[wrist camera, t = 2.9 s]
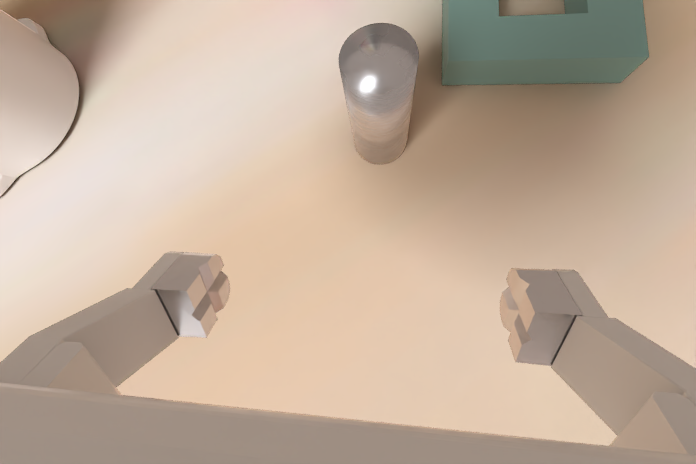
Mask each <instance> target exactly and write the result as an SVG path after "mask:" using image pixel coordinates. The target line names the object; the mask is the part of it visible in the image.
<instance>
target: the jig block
mask: <svg viewBox="0 0 696 464" xmlns="http://www.w3.org/2000/svg"><path fill="white" fill-rule="evenodd" d="M564 5H565V14H548V15H520V16H499V0H443V4H442V85H495V84H569V83H621V82H622V81H623V80H624V79H625V78H626V77H627V76H628V75H629V74H631V73H632V72H633V71H634V70H635V69H636V68H637V67H638V66H639V65H641V64H642V63H643V62H644V61H645V60H646V59H647V58H648V57H649V52H648V43H647V35H646V26H645V17H644V9H643V0H564Z"/></svg>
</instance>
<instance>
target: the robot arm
mask: <svg viewBox="0 0 696 464" xmlns="http://www.w3.org/2000/svg"><path fill="white" fill-rule="evenodd" d="M78 101H79V83H78V78H77V74H76V72H75V69H74V67H73V65H72V64H71V62H70V61H69V60H68V58H67V57H66V56H65V55H64V54H63V53H61V52H60V51H59V50H57V49H56V48H55V47H53V46H52V45H51V44H50V43H49V40H48V37H47V35H46V33H45V31H44V29H43V28H42V27H41V26H40V25H39V24H37V23H36V22H34V21H33V20H31V19H29V18H22V19H17V20H16V19H15V18H13V17H12V16H10V15H9V14H7V13H6V12H4V11H3V10H1V9H0V196H1V195H2V194H3V193H4V192H5V191H6V190H7V189H8V188H9V186H10V185H11V184H12V183H13V182H14V180H15V179H16V178H17V177H19V176H20V175H21V174H23V173H24V172H26V171H28V170H29V169H31V168H33V167H34V166H36V165H37V164H39V163H40V162H41V161H43V160H44V159H45V158H46V157H47V156H49V155H50V154H51V153H52V152H53V151H54V150H55V149H56V147H57V146H58V145H59V144H60V143H61V141H62V140H63V138H64V137H65V135H66V134H67V132H68V130H69V128H70V126H71V124H72V122H73V120H74V117H75V114H76V111H77V107H78ZM223 266H224V264H223V261H222V259H221V257H220V256H218V255H216V254H203V253H189V252H185V253H184V252H168V253H165V254H164V255H163V256H162V257H161V258H160V259H159V260H158V261H157V262H156V263H155V264H154V266H153V267H152V268H151V269H150V270H149V271H148V272H147V273H146V274H145V275H144V276H143V277H142V278H141V279H140V280H139V282H138V283H137V284H136V285H135V286H134V287H133V288H132V289H131V288H126V289H124V290H122V291H120V292H118V293H116V294H114V295H112V296H110V297H108V298H106V299H104V300H102V301H100V302H98V303H96V304H94V305H92V306H90V307H88V308H86V309H84V310H82V311H80V312H78V313H76V314H74V315H72V316H70V317H68V318H66V319H64V320H62V321H60V322H58V323H56V324H54V325H52V326H49V327H47V328H45V329H43V330H41V331H39V332H37V333H35V334H33V335H31V336H29V337H28V338H27V339H26V340H25V341H24V342H23V343H21V344H20V345H19V346H18V347H17V348H16V349H15V350H14V351H13V352H12V353H10V354H9V355H8V356H7V357H6V358H5V359H4V360H3V361H2V362H0V464H696V368H694V367H692V366H691V365H689V364H688V363H686V362H684V361H683V360H681V359H680V358H678V357H676V356H675V355H673V354H672V353H670V352H668V351H667V350H665V349H664V348H662V347H661V346H659V345H657V344H656V343H654V342H653V341H651V340H649V339H648V338H646V337H645V336H643V335H641V334H640V333H638V332H637V331H635V330H634V329H632V328H630V327H629V326H627V325H626V324H624V323H622V322H621V321H619V320H618V319H616V318H609V317H608V316H607V314H606V313H605V311H604V310H603V309H602V307H601V306H600V304H599V303H598V301H597V300H596V298H595V297H594V295H593V294H592V292H591V291H590V289H589V288H588V286H587V285H586V283H585V282H584V281H583V279H582V278H581V276H580V275H579V273H578V272H576V271H575V270H559V269H553V270H544V269H520V268H511V270H510V271H509V273H508V276H507V279H506V280H507V283H508V285H509V287H508V288H507V289H506V290H504V291H503V292H502V296H501V300H500V315H501V320H502V323H503V326H504V327H505V328H506V329H507V330H508V331H510V332H511V333H510V336H509V339H508V342H509V345H510V347H511V350H512V353H513V356H514V359H515V362H520V363H529V364H539V365H548V366H551V368H552V369H553V370H554V371H555V372H556V373H557V374H558V375H559V376H560V377H561V378H562V379H563V380H564V381H565V382H566V383H567V384H568V385H569V386H570V387H571V388H572V389H573V391H574V392H575V393H576V394H577V395H578V396H579V397H580V398H581V399H582V400H583V401H584V402H585V403H586V404H587V405H588V406H589V407H590V408H591V409H592V410H593V411H594V412H595V413H596V414H597V415H598V416H599V417H600V418H601V419H602V420H603V421H604V422H605V423H606V424H607V425H608V426H609V428H610V429H611V430H612V431H613V432H614V433H615V434H616V435H617V437H616V438H615V439H614V441H613V442H612V443H611V444H610V445H609V446H603V445H593V444H584V443H574V442H565V441H555V440H546V439H536V438H526V437H517V436H507V435H498V434H488V433H479V432H469V431H459V430H450V429H440V428H431V427H421V426H412V425H402V424H392V423H383V422H373V421H364V420H354V419H344V418H335V417H325V416H316V415H306V414H297V413H287V412H278V411H268V410H258V409H249V408H239V407H230V406H220V405H211V404H201V403H192V402H182V401H173V400H163V399H154V398H144V397H135V396H125V395H121V393H120V392H119V391H118V389H117V388H116V387H117V386H118V385H120V384H121V383H122V382H124V381H125V380H126V379H127V378H129V377H130V376H131V375H132V374H134V373H135V372H136V371H137V370H139V369H140V368H141V367H142V366H144V365H145V364H146V363H147V362H149V361H150V360H151V359H153V358H154V357H155V356H156V355H158V354H159V353H160V352H161V351H163V350H164V349H165V348H166V347H168V346H169V345H170V344H171V343H173V342H174V341H175V340H176V339H178V336H183V337H203V338H207V336H208V335H209V333H210V331H211V329H212V328H213V326H214V324H215V322H216V321H217V316H216V312H218V311H219V310H221V309H222V308H224V306H225V305H226V303H227V301H228V298H229V293H230V283H229V280H228V277H227V276H226V275H225V274H224V273H223V272H222V271H221V270H222V268H223Z"/></svg>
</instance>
